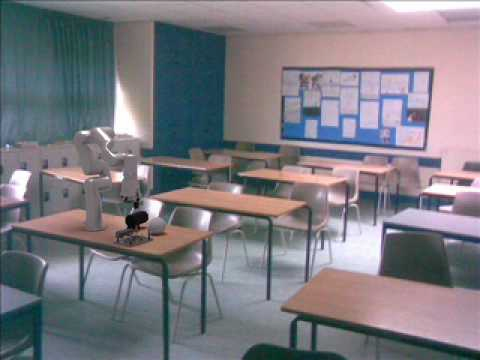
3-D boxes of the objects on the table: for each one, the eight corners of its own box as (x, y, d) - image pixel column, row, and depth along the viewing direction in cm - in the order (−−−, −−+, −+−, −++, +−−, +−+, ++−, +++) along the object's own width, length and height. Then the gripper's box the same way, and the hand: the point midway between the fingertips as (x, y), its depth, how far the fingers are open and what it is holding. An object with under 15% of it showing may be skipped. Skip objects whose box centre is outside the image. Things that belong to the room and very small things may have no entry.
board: (128, 208, 294) (128, 201, 294) (119, 207, 298) (118, 200, 298) (143, 205, 305) (143, 198, 304) (134, 203, 308) (133, 197, 308)
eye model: (169, 233, 321) (169, 216, 320) (159, 236, 312) (159, 220, 311) (155, 230, 326) (155, 214, 324) (145, 234, 317) (145, 217, 315)
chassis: (130, 247, 290) (130, 234, 289) (113, 243, 297) (113, 230, 296) (153, 240, 305) (153, 228, 304) (136, 236, 312) (136, 224, 311)
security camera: (122, 232, 321) (122, 215, 319) (139, 225, 338) (139, 210, 336) (131, 233, 318) (131, 217, 317) (149, 227, 335) (149, 211, 333)
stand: (120, 238, 308) (120, 233, 307) (115, 237, 310) (115, 232, 309) (133, 234, 316) (133, 229, 316) (128, 233, 318) (128, 228, 318)
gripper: (114, 176, 300) (115, 207, 303) (137, 178, 291) (138, 210, 294) (123, 174, 307) (124, 205, 309) (146, 176, 298) (147, 208, 300)
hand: (131, 207), depth 301 cm, fingers closed on board, 7 cm apart
